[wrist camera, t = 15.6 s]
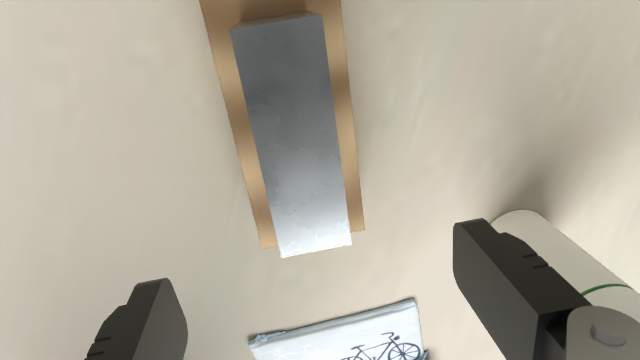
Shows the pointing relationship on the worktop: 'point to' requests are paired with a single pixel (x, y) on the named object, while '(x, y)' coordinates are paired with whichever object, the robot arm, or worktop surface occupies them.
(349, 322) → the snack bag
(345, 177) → the oak ledge
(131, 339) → the robot arm
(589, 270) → the cylindrical container
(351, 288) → the worktop surface
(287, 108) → the aluminium block
